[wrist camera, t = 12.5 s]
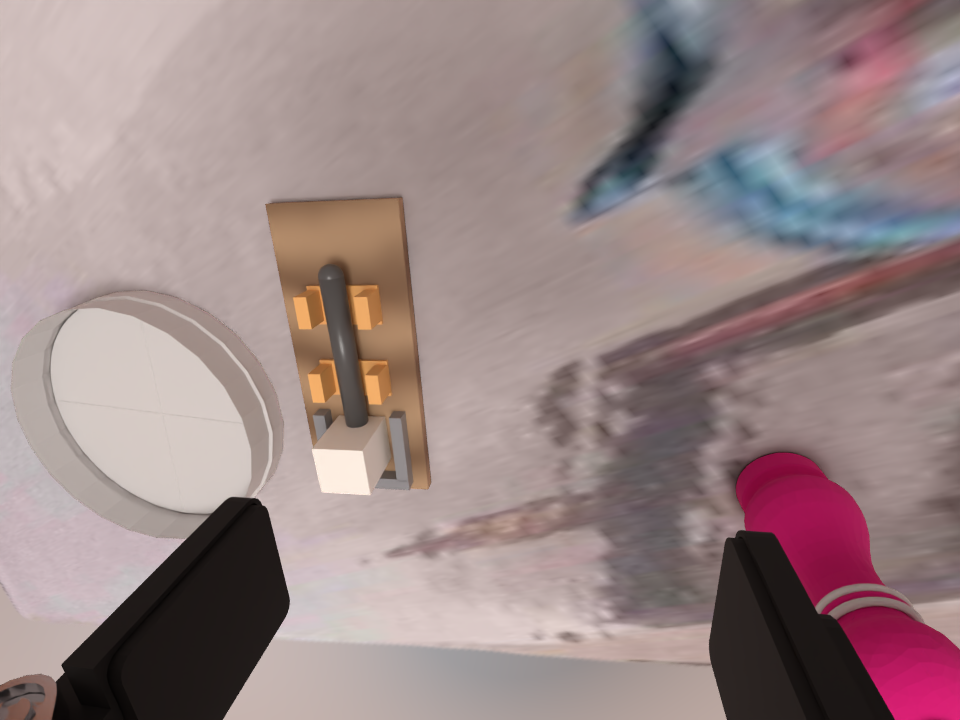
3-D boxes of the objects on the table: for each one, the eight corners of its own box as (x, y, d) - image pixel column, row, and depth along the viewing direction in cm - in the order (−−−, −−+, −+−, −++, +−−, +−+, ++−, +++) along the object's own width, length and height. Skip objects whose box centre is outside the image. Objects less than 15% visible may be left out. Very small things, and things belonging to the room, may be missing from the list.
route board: (272, 202, 38) (265, 204, 37) (402, 197, 36) (398, 198, 35) (325, 476, 46) (320, 482, 45) (431, 482, 45) (428, 489, 44)
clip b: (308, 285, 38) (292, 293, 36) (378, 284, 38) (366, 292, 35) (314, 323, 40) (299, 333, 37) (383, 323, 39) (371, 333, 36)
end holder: (319, 408, 42) (312, 415, 41) (405, 411, 41) (400, 418, 40) (332, 477, 45) (326, 485, 44) (413, 481, 44) (409, 490, 43)
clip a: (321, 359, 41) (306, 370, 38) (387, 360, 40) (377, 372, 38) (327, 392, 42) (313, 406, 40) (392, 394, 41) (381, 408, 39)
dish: (271, 300, 41) (233, 318, 36) (297, 520, 49) (270, 557, 45) (33, 279, 44) (-29, 293, 39) (96, 489, 52) (51, 521, 48)
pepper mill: (847, 499, 39) (1094, 805, 21) (756, 537, 41) (904, 839, 23) (802, 429, 37) (1025, 692, 19) (711, 473, 40) (830, 742, 22)
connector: (309, 261, 37) (273, 279, 33) (360, 260, 36) (331, 277, 32) (347, 455, 44) (321, 492, 39) (391, 457, 43) (370, 495, 39)
